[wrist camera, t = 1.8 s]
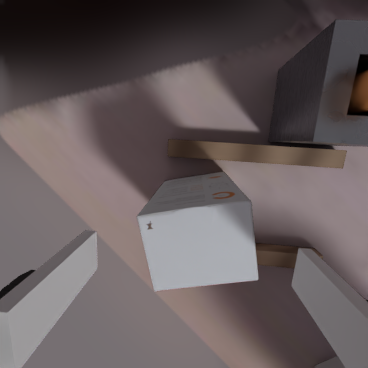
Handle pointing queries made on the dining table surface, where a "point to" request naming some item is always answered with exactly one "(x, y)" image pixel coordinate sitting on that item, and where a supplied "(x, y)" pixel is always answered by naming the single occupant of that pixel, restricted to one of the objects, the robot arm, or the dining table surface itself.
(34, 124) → the dining table surface
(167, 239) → the small box
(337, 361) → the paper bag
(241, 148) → the track
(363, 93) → the orange piece
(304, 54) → the grey block with hole
